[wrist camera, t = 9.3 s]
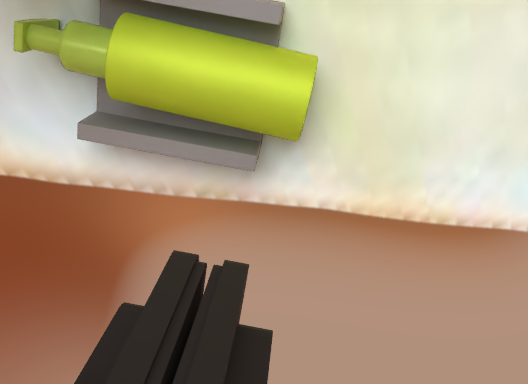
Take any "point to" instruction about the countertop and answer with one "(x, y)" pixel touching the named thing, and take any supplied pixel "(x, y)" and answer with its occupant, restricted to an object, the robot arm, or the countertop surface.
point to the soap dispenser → (184, 70)
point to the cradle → (174, 125)
